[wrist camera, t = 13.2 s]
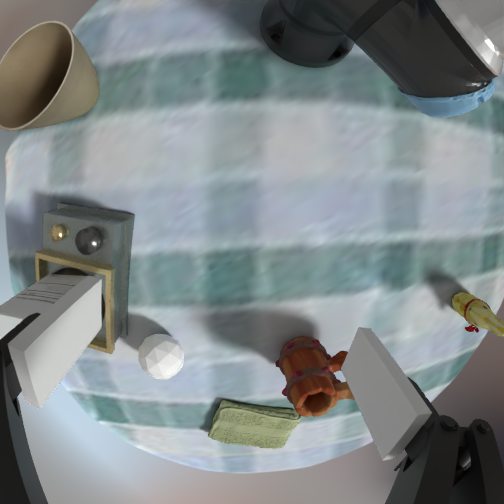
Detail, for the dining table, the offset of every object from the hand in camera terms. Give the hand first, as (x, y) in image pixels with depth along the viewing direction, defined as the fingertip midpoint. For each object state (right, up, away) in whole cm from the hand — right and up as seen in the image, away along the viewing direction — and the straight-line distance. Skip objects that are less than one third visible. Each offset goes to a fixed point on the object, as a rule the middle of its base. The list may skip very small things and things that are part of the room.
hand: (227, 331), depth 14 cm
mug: (+12, -13, +36) cm, 41 cm away
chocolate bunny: (+46, -8, +37) cm, 59 cm away
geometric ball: (-14, -12, +35) cm, 39 cm away
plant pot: (-27, +29, +23) cm, 46 cm away
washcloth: (+1, -32, +41) cm, 53 cm away
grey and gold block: (-26, +1, +30) cm, 40 cm away
